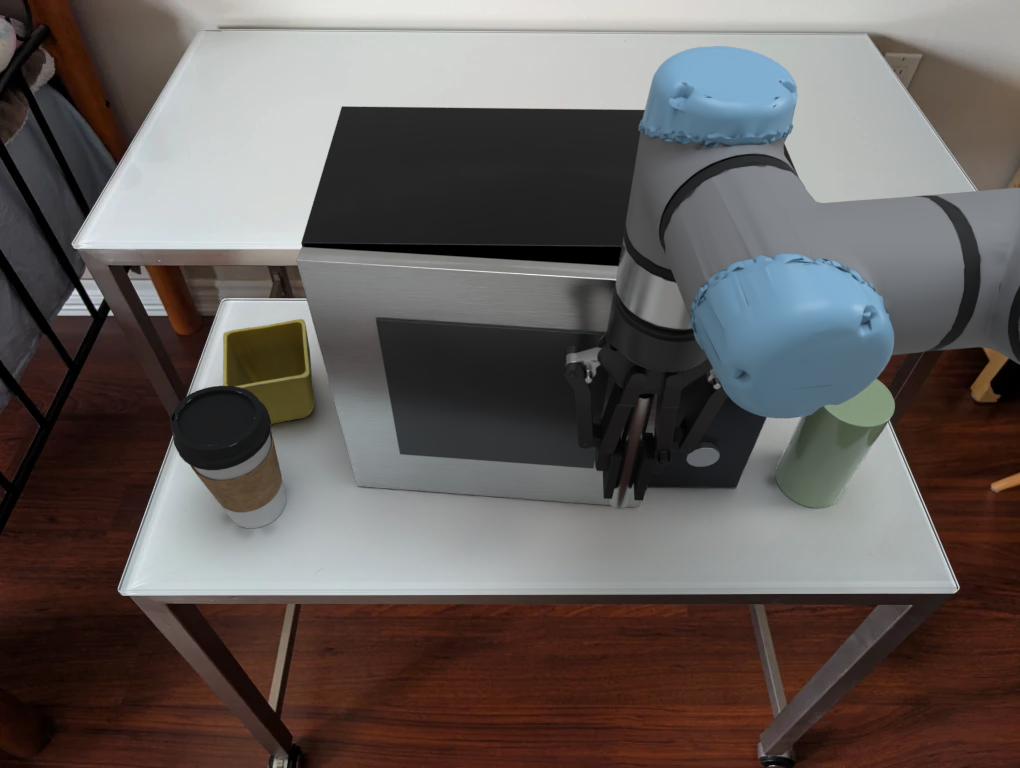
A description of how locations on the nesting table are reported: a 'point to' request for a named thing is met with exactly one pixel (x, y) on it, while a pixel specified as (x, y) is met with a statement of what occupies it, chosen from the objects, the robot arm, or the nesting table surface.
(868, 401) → the canister
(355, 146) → the microwave
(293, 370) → the flower pot
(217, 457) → the coffee cup
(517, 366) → the microwave door
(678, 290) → the robot arm
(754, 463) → the nesting table surface
